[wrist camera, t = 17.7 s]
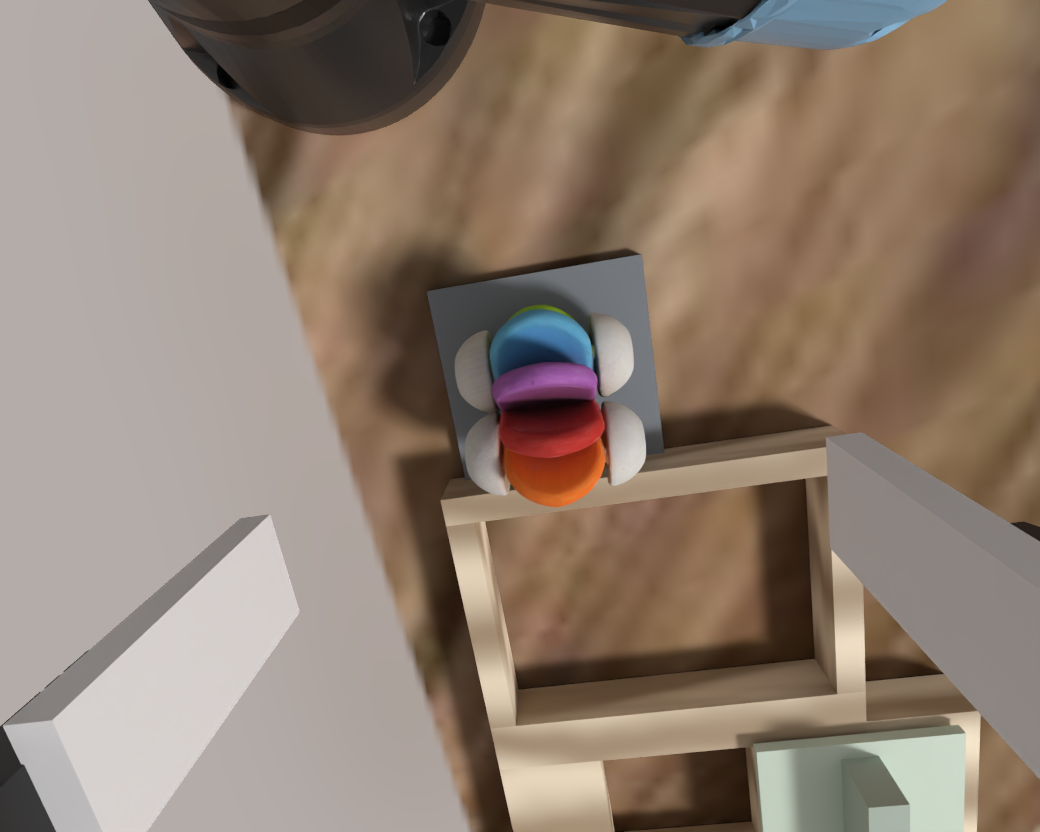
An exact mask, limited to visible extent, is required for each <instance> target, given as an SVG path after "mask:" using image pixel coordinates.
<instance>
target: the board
mask: <svg viewBox="0 0 1040 832" xmlns="http://www.w3.org/2000/svg"><path fill="white" fill-rule="evenodd" d="M839 435H846V434H845V433H843V432H842V431H840V430H839V429H837V428H835V427H834V426H832V425H831V426H823V427H816V428H809V429H802V430H795V431H788V432H781V433H774V434H767V435H760V436H753V437H746V438H738V439H731V440H724V441H717V442H710V443H703V444H696V445H689V446H682V447H675V448H668V449H664V453H659V454H652V455H646V458H645V462H644V464H643V466H642V467H641V469H640V470H639V471H638V473H637V474H636V475H635V476H633V477H632V478H631V479H630V480H628V481H626V482H624V483H622V484H619V485H616V486H611V485H609V483H608V478H607V472H606V465H605V466H604V470H603V472H602V475H601V477H600V479H599V481H598V483H597V484H596V485H595V487H594V488H593V489H592V490H591V491H590V492H589V493H588V494H586V495H585V496H584V497H582V498H581V499H579V500H577V501H575V502H573V503H571V504H569V505H565V506H562V507H549V506H544V505H540V504H537V503H534V502H532V501H530V500H528V499H526V498H524V497H523V496H522V495H520V494H519V493H518V492H517V491H516V490H515V489H514V487H513V486H512V485H511V484H510V490H509V493H508V494H507V495H504V496H503V495H496V494H492V493H489V492H487V491H485V490H483V489H482V488H480V487H479V486H478V485H477V484H476V483H475V482H474V481H473V480H467V481H466V480H465V477H462V478H455V479H450V480H449V483H448V485H447V487H446V489H445V491H444V494H443V496H442V498H441V500H440V501H441V505H442V510H443V514H444V519H445V523H446V528H447V533H448V537H449V542H450V546H451V551H452V555H453V560H454V564H455V569H456V573H457V578H458V583H459V587H460V592H461V596H462V601H463V605H464V610H465V614H466V619H467V624H468V628H469V633H470V637H471V642H472V646H473V651H474V655H475V660H476V664H477V669H478V674H479V678H480V683H481V687H482V692H483V696H484V701H485V705H486V710H487V714H488V719H489V724H490V728H491V733H492V737H493V742H494V746H495V751H496V755H497V760H498V764H499V769H500V774H501V778H502V783H503V787H504V792H505V796H506V801H507V805H508V810H509V814H510V819H511V824H512V828H513V832H615V829H614V823H613V817H612V811H611V805H610V799H609V793H608V787H607V781H606V775H605V769H604V763H603V760H614V759H625V758H636V757H646V756H657V755H668V754H679V753H690V752H701V751H712V750H723V749H733V748H744V747H745V749H746V760H747V771H748V782H749V793H750V805H751V816H752V821H751V822H738V823H726V824H713V825H701V826H688V827H676V828H663V829H651V830H638V831H626V832H761V830H760V818H759V806H758V795H757V783H756V771H755V760H754V748H753V744H757V743H767V742H778V741H789V740H800V739H811V738H821V737H832V736H843V735H854V734H865V733H876V732H886V731H897V730H908V729H919V728H930V727H940V726H951V725H959V726H960V727H961V728H962V729H963V730H964V731H965V733H966V756H965V796H964V832H977V808H978V777H979V746H980V715H981V714H980V713H979V712H978V711H977V710H976V709H975V707H974V706H973V705H972V704H971V703H970V702H969V701H968V700H967V699H966V698H965V696H964V695H963V694H962V693H961V692H960V691H959V690H958V689H957V688H956V686H955V685H954V684H953V683H952V682H951V681H950V680H949V679H948V678H947V677H946V675H945V674H937V675H927V676H917V677H908V678H898V679H888V680H878V681H868V682H865V644H864V605H863V584H862V583H861V582H860V580H859V579H858V578H857V577H856V576H855V575H854V574H853V573H852V572H851V570H850V569H849V568H848V567H847V566H846V565H845V564H844V563H843V562H842V561H841V559H840V558H839V557H838V556H837V555H836V554H835V553H834V552H833V551H832V549H831V548H830V531H829V505H828V479H827V453H826V437H832V436H839ZM798 479H806V496H807V516H808V535H809V555H810V574H811V594H812V614H813V633H814V653H815V659H807V660H797V661H788V662H778V663H769V664H759V665H750V666H740V667H731V668H721V669H712V670H702V671H693V672H683V673H673V674H664V675H654V676H645V677H635V678H626V679H616V680H607V681H597V682H588V683H578V684H569V685H559V686H550V687H540V688H530V689H521V690H519V688H518V683H517V678H516V673H515V668H514V663H513V658H512V653H511V648H510V643H509V638H508V633H507V628H506V623H505V618H504V613H503V608H502V603H501V598H500V593H499V588H498V583H497V578H496V573H495V568H494V563H493V559H492V554H491V549H490V544H489V539H488V534H487V529H486V524H485V521H491V520H498V519H506V518H513V517H521V516H528V515H536V514H543V513H551V512H558V511H566V510H573V509H581V508H588V507H596V506H603V505H611V504H618V503H626V502H633V501H641V500H648V499H656V498H663V497H671V496H678V495H686V494H693V493H701V492H708V491H716V490H723V489H731V488H738V487H746V486H753V485H761V484H768V483H776V482H783V481H791V480H798Z"/></svg>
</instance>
